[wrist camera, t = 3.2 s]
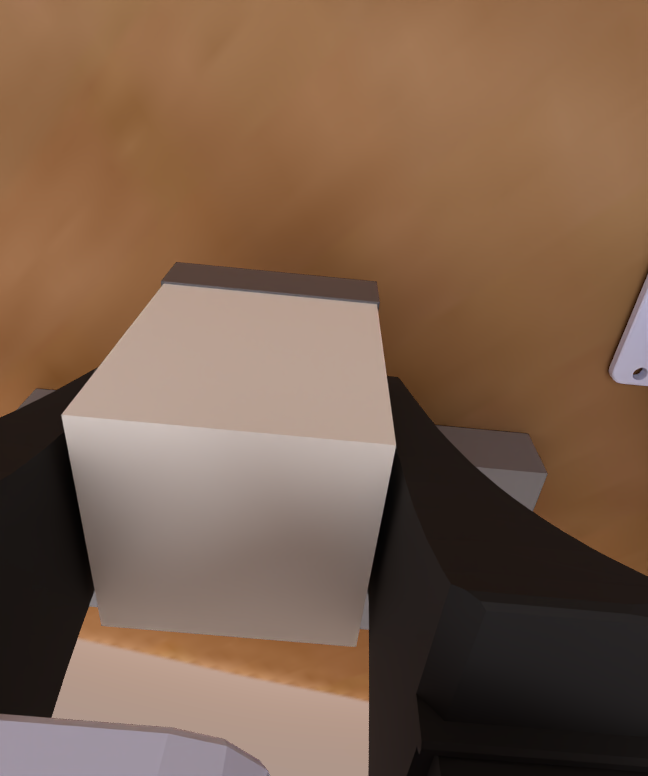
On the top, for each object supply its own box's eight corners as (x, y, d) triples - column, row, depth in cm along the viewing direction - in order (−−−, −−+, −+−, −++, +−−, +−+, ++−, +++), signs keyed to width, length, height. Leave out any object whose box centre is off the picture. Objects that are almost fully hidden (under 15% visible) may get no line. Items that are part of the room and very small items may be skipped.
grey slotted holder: (528, 433, 23) (556, 491, 20) (472, 593, 28) (487, 659, 25) (36, 388, 22) (-12, 441, 19) (72, 559, 27) (39, 622, 24)
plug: (376, 281, 12) (400, 441, 7) (353, 441, 15) (358, 648, 10) (176, 262, 12) (55, 411, 7) (184, 426, 15) (98, 627, 9)
